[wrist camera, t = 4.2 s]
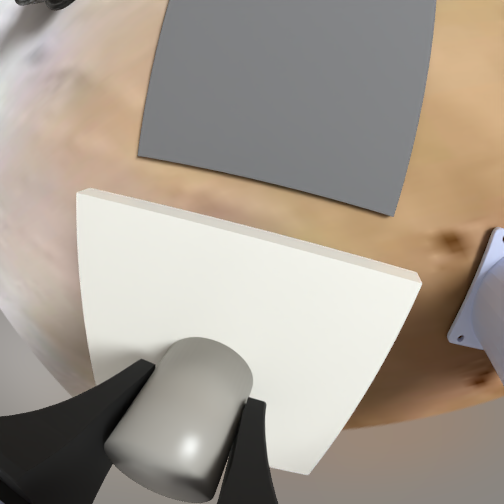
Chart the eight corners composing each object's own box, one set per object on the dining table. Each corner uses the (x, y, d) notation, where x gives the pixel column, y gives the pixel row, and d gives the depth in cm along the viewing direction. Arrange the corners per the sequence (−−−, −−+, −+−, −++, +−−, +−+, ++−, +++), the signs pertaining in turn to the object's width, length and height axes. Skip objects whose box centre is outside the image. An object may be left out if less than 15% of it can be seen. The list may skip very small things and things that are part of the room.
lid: (416, 272, 10) (473, 406, 4) (309, 463, 15) (292, 556, 9) (89, 187, 11) (-35, 240, 6) (106, 394, 16) (54, 465, 11)
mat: (435, -21, 11) (437, -23, 10) (392, 215, 16) (393, 216, 16) (191, -57, 13) (189, -60, 12) (141, 155, 18) (137, 155, 18)
